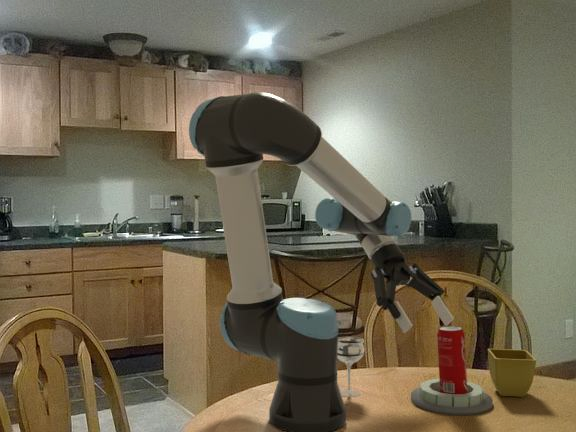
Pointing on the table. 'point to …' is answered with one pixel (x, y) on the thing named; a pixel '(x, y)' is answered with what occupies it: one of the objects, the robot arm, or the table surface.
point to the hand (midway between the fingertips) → (429, 325)
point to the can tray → (451, 409)
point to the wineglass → (350, 358)
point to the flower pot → (511, 371)
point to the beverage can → (452, 360)
